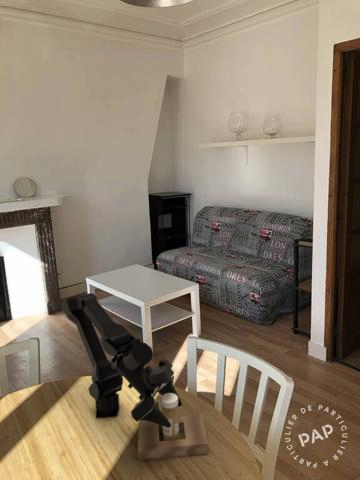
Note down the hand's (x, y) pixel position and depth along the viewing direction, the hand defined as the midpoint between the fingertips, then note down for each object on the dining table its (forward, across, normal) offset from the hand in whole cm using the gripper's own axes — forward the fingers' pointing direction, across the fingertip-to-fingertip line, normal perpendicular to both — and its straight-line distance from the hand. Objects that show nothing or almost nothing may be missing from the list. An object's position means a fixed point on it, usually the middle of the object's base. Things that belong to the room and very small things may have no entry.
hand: (175, 415), depth 111 cm
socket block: (+5, 0, +7) cm, 8 cm away
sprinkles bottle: (+5, 0, +7) cm, 8 cm away
